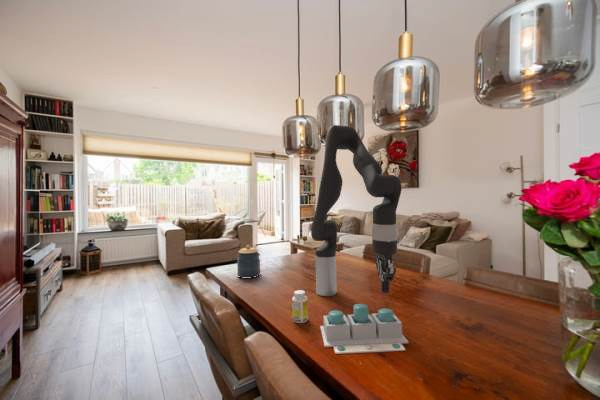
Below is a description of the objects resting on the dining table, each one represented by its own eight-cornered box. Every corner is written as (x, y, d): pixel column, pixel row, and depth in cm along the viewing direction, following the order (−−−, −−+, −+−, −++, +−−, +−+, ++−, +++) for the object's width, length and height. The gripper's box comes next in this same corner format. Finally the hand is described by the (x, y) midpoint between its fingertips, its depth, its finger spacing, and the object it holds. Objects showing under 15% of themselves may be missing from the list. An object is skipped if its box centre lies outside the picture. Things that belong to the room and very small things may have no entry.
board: (320, 327, 91) (319, 312, 91) (393, 324, 92) (392, 309, 92) (324, 347, 79) (324, 330, 79) (408, 343, 80) (408, 326, 80)
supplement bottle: (307, 316, 100) (306, 288, 100) (309, 323, 95) (308, 294, 95) (292, 317, 100) (291, 289, 100) (293, 324, 94) (292, 295, 94)
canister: (233, 278, 150) (232, 246, 150) (244, 271, 162) (243, 242, 162) (254, 279, 146) (253, 247, 146) (264, 273, 158) (263, 243, 158)
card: (333, 347, 79) (333, 345, 79) (400, 344, 80) (400, 342, 80) (335, 353, 76) (335, 351, 76) (405, 350, 77) (405, 348, 77)
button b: (352, 322, 88) (351, 304, 88) (366, 321, 88) (365, 303, 88) (355, 329, 84) (355, 310, 83) (370, 328, 84) (370, 309, 84)
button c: (376, 326, 88) (376, 308, 88) (390, 326, 89) (390, 308, 89) (381, 334, 84) (381, 314, 84) (396, 333, 84) (395, 314, 84)
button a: (328, 329, 88) (327, 310, 88) (342, 328, 88) (341, 310, 88) (330, 336, 83) (329, 317, 83) (345, 335, 83) (344, 316, 83)
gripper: (366, 234, 92) (367, 285, 93) (379, 242, 79) (380, 300, 79) (388, 234, 92) (389, 284, 93) (405, 241, 79) (405, 299, 80)
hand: (385, 291), depth 86 cm, fingers closed
